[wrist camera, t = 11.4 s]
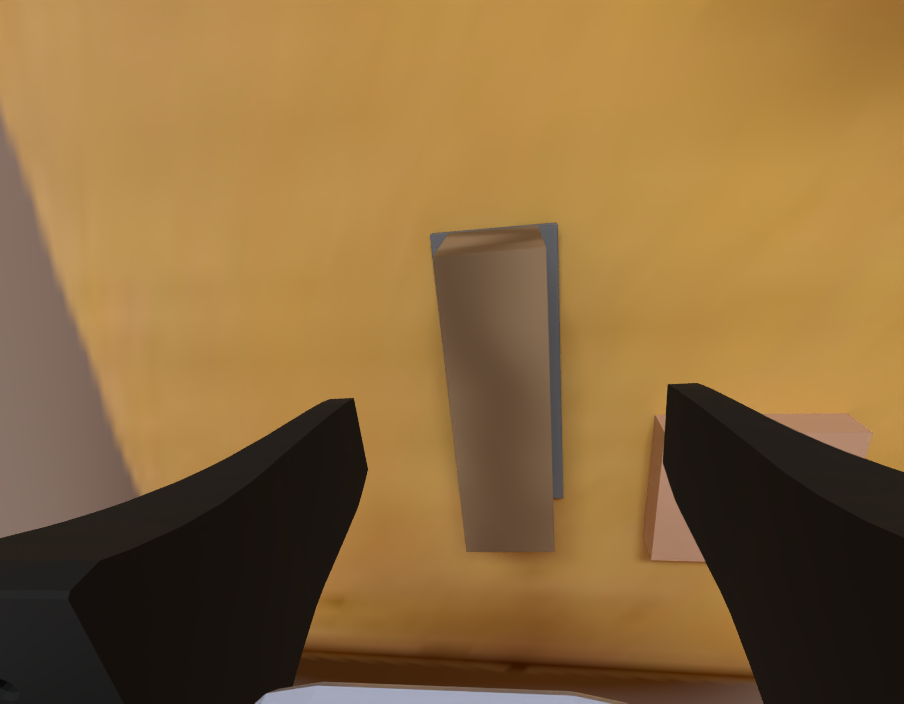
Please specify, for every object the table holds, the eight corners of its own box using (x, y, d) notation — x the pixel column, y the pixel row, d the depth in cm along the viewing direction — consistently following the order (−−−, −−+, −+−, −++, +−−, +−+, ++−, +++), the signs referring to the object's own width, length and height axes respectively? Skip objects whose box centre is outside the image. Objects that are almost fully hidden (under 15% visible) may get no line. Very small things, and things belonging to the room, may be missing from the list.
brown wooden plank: (537, 225, 19) (546, 248, 15) (546, 480, 24) (554, 552, 20) (448, 233, 20) (432, 256, 15) (473, 482, 24) (466, 551, 20)
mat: (556, 222, 20) (557, 224, 19) (562, 491, 24) (562, 498, 24) (431, 233, 20) (430, 235, 20) (461, 492, 25) (460, 499, 25)
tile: (873, 432, 20) (834, 565, 22) (842, 408, 22) (809, 534, 24) (664, 432, 21) (651, 559, 24) (652, 410, 23) (641, 530, 25)
